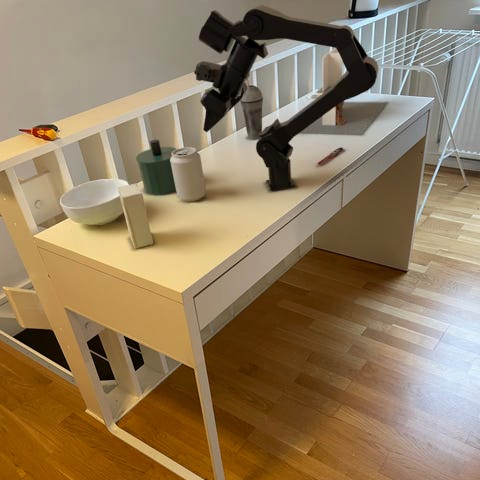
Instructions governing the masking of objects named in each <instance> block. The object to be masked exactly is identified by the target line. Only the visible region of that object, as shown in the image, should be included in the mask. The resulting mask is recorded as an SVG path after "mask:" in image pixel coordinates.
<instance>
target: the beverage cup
mask: <svg viewBox="0 0 480 480" xmlns="http://www.w3.org/2000/svg"><path fill="white" fill-rule="evenodd" d="M246 84H247V88H248V89H247V92H246V94H245V96H244V97H243V98H242V99H241V100H240V101H239V102H240V106H241V109H242V112H243V113H242V114H243V118H244V125H245V129H246V134H247V138H248V140H259V139H260V137H259V135H260V134H261V133H262V131H263V103H264V97H263V93H262V91H261V89H260V88H259V87H258V86H256V85H253V84H251V85H250V83H249V78H248V79H247V80H246Z"/></svg>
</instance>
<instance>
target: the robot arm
mask: <svg viewBox="0 0 480 480" xmlns="http://www.w3.org/2000/svg"><path fill="white" fill-rule="evenodd" d="M281 39H282V40H283V39H284V40H290V41H296V42H301V43H305V44H306V43H308V44H313V45H318V46H323V47H329V48H333V49H335V48H336V49H337V51H338V52H339V54H340V56H341V59H342V64H343V65H344V67H345V69H346V71H345V72H344V74H342V77H341V78H340V79H339V80H338V82H337V83H336V84H335V85H333V86H332V87H331V88H329V89H328V90H327V91H326V92H324V93H323V94H322V95H318V97H317V98H315V99H314V100H312V101H311V102H310V103H309V104H307V105H306V106H304V107H303V108H302V109H300V110H299V111H298V112H297V113H296V114H294V115H293V116H291V117H290V118H289V119H288V120H285V121H282V122H280V120H279V118H276V119H275V120H274V121H273V122H272V123H271V124H270V125H267V126H265V127H264V129H262V133H261V134H260V135H259V137H260V138H259V139H257V142H256V143H255V150H256V153H257V155H258V156H259V157H260V158H261V159H262V161H263V163H264V166H265V168H267V171H268V179H267V180H265V183H266V185H267V187H268V189H269V191H270V192H274V191H280V190H286V189H292V188H295V187H296V184H295V182H294V180H293V178H292V165H291V163H292V162H291V159H290V157H291V156H292V155H293V151H294V146H292V144H290V142H291V141H292V140H293V138H294V137H296V136H297V135H298V134H301V133H300V132H301V131H303V130H304V129H305V128H307V127H308V126H309V125H311V124H312V123H314V122H315V121H316V120H318V119H319V118H320V117H322V116H323V115H324V114H326V113H327V112H329V111H330V110H331V109H333V108H334V107H335V106H337V105H338V104H339V103H341V102H342V101H344V100H345V101H347V100H350V99H352V98H355V97H358V96H359V95H362V94H363V93H365V92H367V91H369V90H371V89H372V88H373V87H374V85H375V84H376V80H377V78H378V75H379V74H378V73H379V65H378V62H377V61H376V59H375V58H373V57H372V56H369V55H368V54H367V52H366V50H365V48H364V47H363V45H362V44H361V43H360V41H359V40H358V38H357V37H356V35H355V33H354V30H353V28H352V27H351V26H349V25H346V24H345V25H344V24H343V25H338V24H333V23H332V24H331V23H327V22H321V21H315V20H309V19H304V18H298V17H291V16H290V15H286V14H284V13H282V12H281V11H279V10H276V9H274V8H272V7H269V6H266V5H261V4H260V5H257V6H255V7H253V8H251V9H249V10H248V11H246V13H245V15H244V16H243V19H242V20H240V19H239V20H237V21H236V22H232V21H231V20H230V19H228V18H226V17H225V16H223V14H221V13H220V12H219V11H218V10H217V9H214V10H212V11H210V14H209V16H208V17H207V19H206V21H205V23H204V25H203V26H201V29H200V31H199V35H198V41H199V42H201V43H203V44H204V45H206V46H207V47H209V48H210V49H212V50H213V51H215V52H217V53H218V54H219V55H222V54H223V53H224V52H225V53H229V55H228V57H227V59H226V61H225V63H224V64H218V63H214V62H210V61H204V60H203V61H200V62H198V63H197V64H196V66H195V70H194V71H193V73H194V75H195V80H196V81H198V82H201V81H202V82H206V83H207V82H208V83H212V85H211V86H212V87H213V88H211V89H208V90H207V91H205V92H204V93H203V94H202V96H201V99H200V101H199V102H200V104H201V105H202V107H203V108H204V109H205V116H204V122H203V129H202V130H203V131H204V132H205V133H208V132H209V131H210V130H212V129H213V128H214V127H215V126H216V125H217V124H218V123H219V122H220V121H221V120H222V119H223V118H224V117H225V116H227V115H228V113H229V112H230V111H231V110H232V109H233V108H234V107H235V106H237V104H238V103H239V102H240V100H241V99H242V98H243V97H244V96H245V94H246V92H247V89H248V88H247V86H248V85H247V79H248V80H249V77H250V75H251V74H250V73H251V71H252V68H253V66H254V64H255V62H256V60H257V58H258V57H260V58H262V59H265V58H267V56H268V55H269V51H268V48H267V42H263V43H259V42H258V41H272V40H281ZM229 51H230V52H229ZM216 89H218V90H216ZM345 101H344V102H345Z"/></svg>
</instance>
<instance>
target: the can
mask: <svg viewBox="0 0 480 480" xmlns="http://www.w3.org/2000/svg"><path fill="white" fill-rule="evenodd" d="M197 151H198V149H197V148H196V147H191V146H184V147H179V148H176V150H174V151H173V152H172V157H171V159H170V162H171V167H172V172H173V177H174V182H175V187H176V191H175V193H176V196H177V198H178V199H180V200H181V201H183V202H186V203H187V202H188V203H189V202H195V201H199V200H201V199H202V198H203V197H204V196H205V194H207V188H206V182H205V176H204V171H203V170H204V169H203V165H202V157H201V154H200V153H199V152H197Z"/></svg>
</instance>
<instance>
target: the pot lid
mask: <svg viewBox="0 0 480 480" xmlns="http://www.w3.org/2000/svg"><path fill="white" fill-rule="evenodd" d="M149 144H150V148H149V149H146V150H144V151H142V152H140V153H138V154H137V155H136V156H135V161H136V162H137V164H138V163H141V164H158V163H163V162H167V161H169V160H170V159H171V157H172V152H173V151H174V150H176V149H177V148H176V147H171V146H161V143H160V140H159V139H152V140H150V141H149Z"/></svg>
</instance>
